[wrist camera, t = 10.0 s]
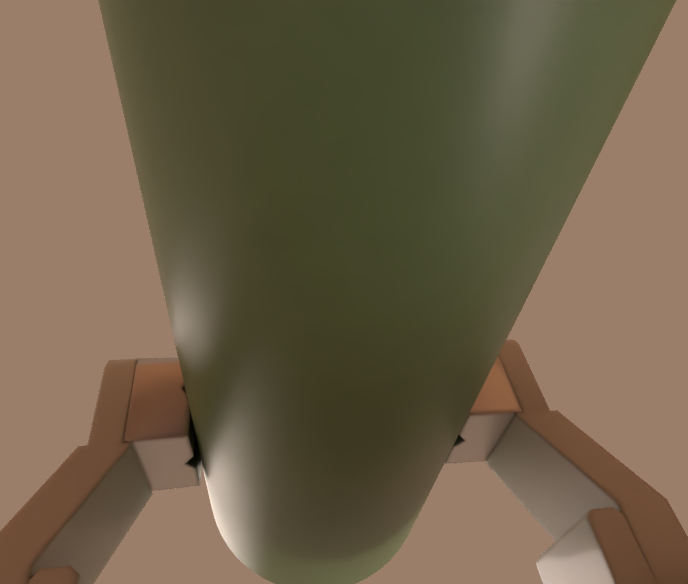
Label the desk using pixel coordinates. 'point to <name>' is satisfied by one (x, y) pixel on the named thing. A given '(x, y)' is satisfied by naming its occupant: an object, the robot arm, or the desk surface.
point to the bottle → (355, 233)
